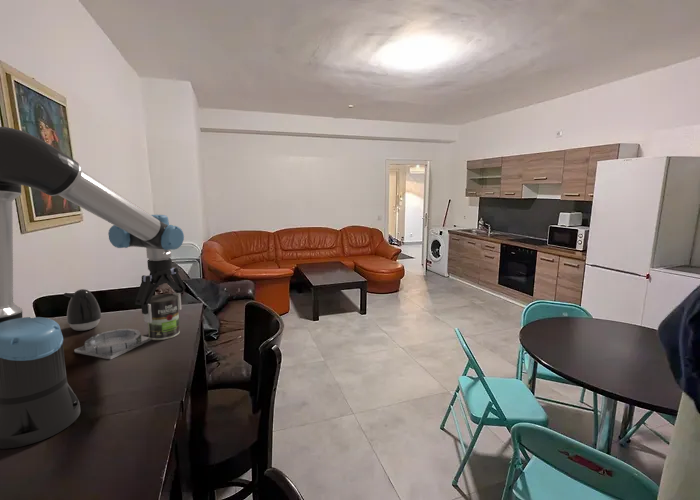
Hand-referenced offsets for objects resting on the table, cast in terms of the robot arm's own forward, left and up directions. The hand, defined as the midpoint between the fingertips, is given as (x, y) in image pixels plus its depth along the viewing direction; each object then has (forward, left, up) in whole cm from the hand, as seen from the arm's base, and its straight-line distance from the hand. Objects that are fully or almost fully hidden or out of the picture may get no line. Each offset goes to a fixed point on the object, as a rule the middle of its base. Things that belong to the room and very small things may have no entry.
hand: (163, 315), depth 123 cm
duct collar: (-13, +8, -7) cm, 17 cm away
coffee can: (0, 0, -8) cm, 8 cm away
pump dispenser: (-5, +32, -7) cm, 33 cm away
